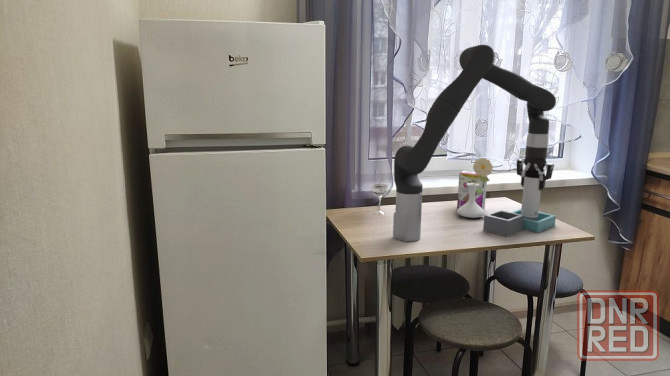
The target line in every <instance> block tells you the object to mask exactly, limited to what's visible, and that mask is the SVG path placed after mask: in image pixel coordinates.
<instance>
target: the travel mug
mask: <svg viewBox="0 0 670 376" xmlns="http://www.w3.org/2000/svg"><path fill="white" fill-rule="evenodd" d="M543 170H544V171H545V169H542V170H540V171H541V172H543ZM538 172H539V171H529V170H528V171H525V178H524V187H522V188H523V189H522V201H521V208H520V209H521V215H524V218H525V219H529V220H537V219H538V212H540V211H539V210H540V201H541V192H542V190H539V181H540V177H539V175H538Z"/></svg>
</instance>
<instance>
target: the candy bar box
mask: <svg viewBox="0 0 670 376" xmlns="http://www.w3.org/2000/svg"><path fill="white" fill-rule="evenodd" d="M468 176H469V177H470V178H473V179H475V181H476V180H477V179H478V177H479V175H478V174H476V173H475V171H470V170H469V171H467V170H462V171H460V172H459V176H458V190H457V202H456V209H459V208H460V207H461V206H462V205H464V204H466V203H467V202H468V200H469V188H468V186H467V183H475V181H474V180H471V179H469V178H468ZM480 177H481V175H480ZM480 177H479V178H480ZM486 177H487V178H488V175H486ZM476 183H477V184H479V186H478V187H477V189H476V192H475V202H476V203H477V204H478V205H479V206H480V207H481V208H482V209H483V210H484V211H485V208H486V198H487V197H486V196H487V184H488V181H487V182H482V181H481V180H480V179H478V180H477V181H476Z"/></svg>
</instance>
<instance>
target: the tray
mask: <svg viewBox="0 0 670 376" xmlns="http://www.w3.org/2000/svg"><path fill="white" fill-rule="evenodd" d="M511 212H512V213H516V214H520V215H521V208H519V209H516V210H513V211H511ZM556 219H557V215H554V214H550V213H545V212H540V211H539V212H538V219H537V220H529V219H525V218H524V222H523V230H524V231H529V232H532V233H536V234H538V233H541V232H542V231H545V230H548V229H551V228H552V227H554V226H556Z"/></svg>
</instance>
